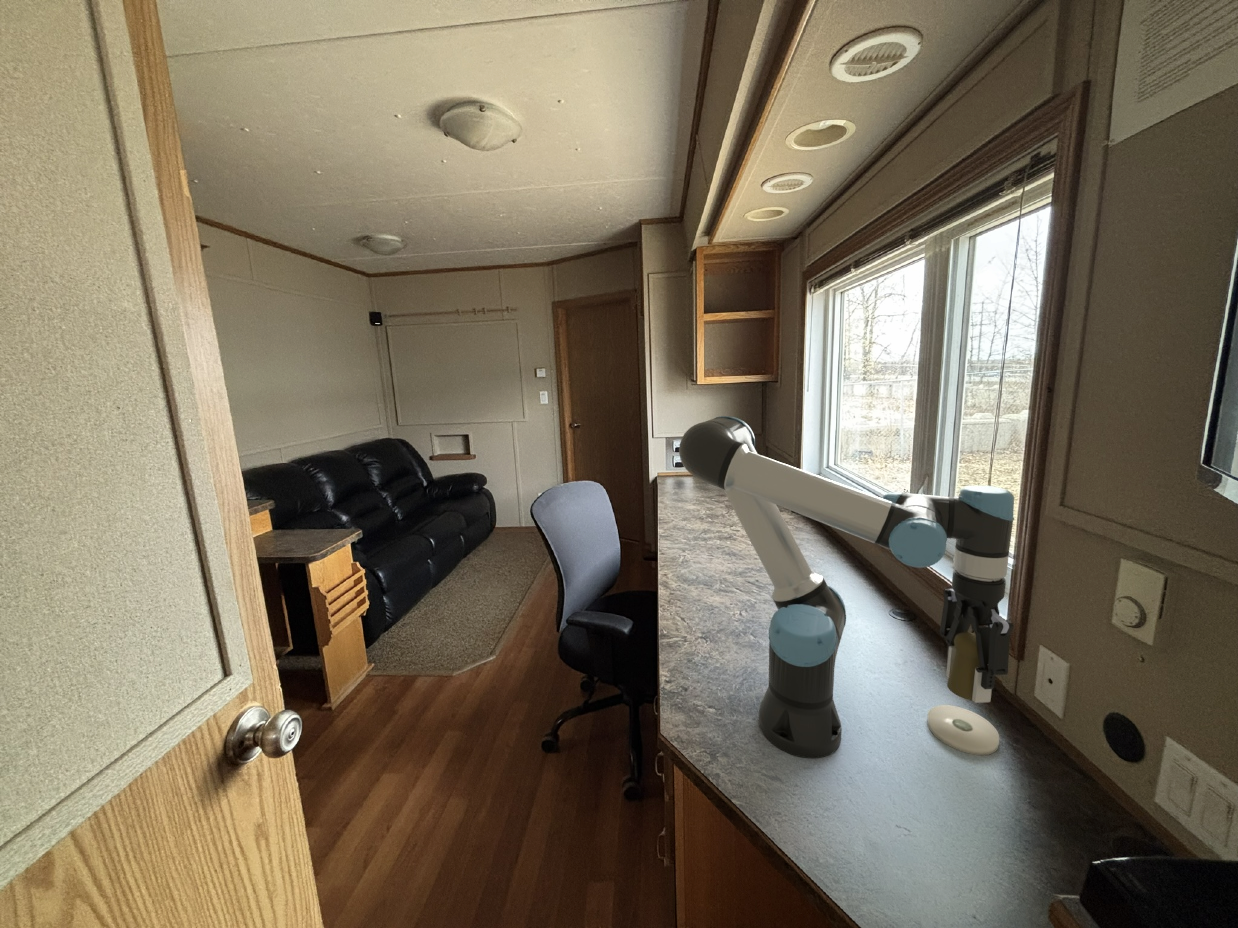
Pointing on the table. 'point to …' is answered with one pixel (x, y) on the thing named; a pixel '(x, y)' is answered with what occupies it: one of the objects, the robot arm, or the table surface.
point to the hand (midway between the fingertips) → (967, 688)
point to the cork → (964, 665)
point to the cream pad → (963, 730)
